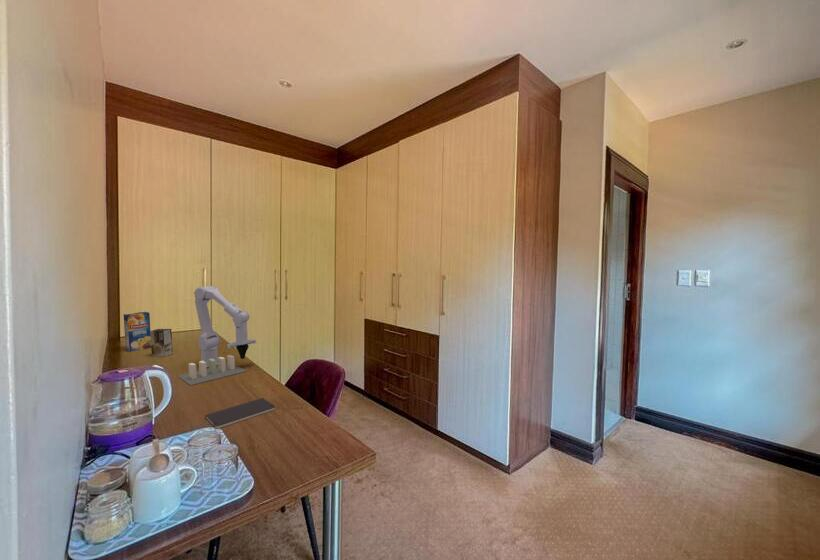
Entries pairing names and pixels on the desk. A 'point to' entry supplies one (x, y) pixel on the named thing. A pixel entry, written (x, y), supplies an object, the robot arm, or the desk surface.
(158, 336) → the coffee box
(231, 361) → the domino
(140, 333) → the blue food box
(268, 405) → the notebook
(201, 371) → the domino
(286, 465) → the desk surface
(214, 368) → the sage domino
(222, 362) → the domino
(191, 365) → the domino
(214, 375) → the charcoal mat
